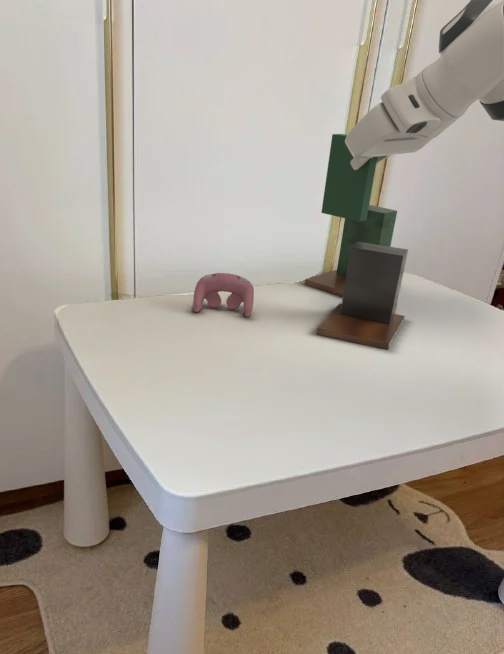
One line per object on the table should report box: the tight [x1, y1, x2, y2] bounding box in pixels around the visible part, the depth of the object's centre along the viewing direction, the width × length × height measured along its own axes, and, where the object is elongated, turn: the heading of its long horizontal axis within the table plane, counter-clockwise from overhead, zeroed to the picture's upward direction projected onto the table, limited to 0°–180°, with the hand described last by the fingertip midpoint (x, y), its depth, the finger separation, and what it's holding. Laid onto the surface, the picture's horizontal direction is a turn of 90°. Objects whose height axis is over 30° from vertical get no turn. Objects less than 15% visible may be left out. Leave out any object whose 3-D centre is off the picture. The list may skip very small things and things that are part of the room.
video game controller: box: [192, 272, 255, 317], centre depth 104 cm, size 10×5×7 cm, turn 83°
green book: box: [321, 133, 378, 222], centre depth 108 cm, size 8×2×13 cm, turn 45°
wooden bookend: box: [316, 242, 409, 350], centre depth 98 cm, size 11×14×12 cm
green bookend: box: [304, 204, 398, 297], centre depth 117 cm, size 11×14×14 cm
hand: (360, 165), depth 106 cm, fingers closed on green book, 2 cm apart
